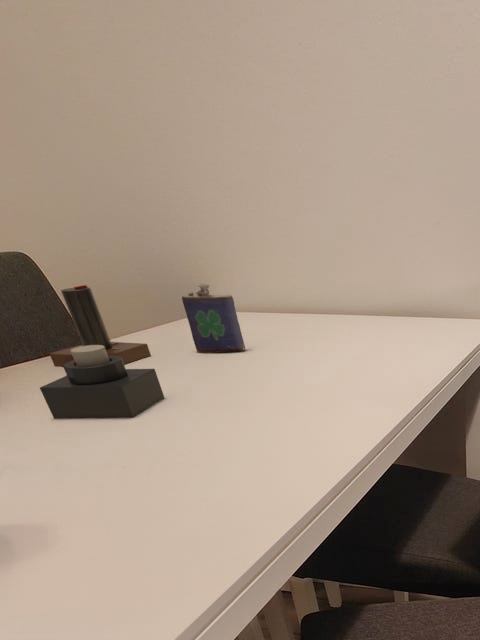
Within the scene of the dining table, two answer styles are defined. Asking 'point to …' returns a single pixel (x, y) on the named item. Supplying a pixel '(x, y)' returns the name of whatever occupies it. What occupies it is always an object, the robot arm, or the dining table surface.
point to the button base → (102, 391)
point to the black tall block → (86, 316)
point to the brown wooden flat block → (120, 349)
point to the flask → (213, 322)
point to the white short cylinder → (90, 355)
